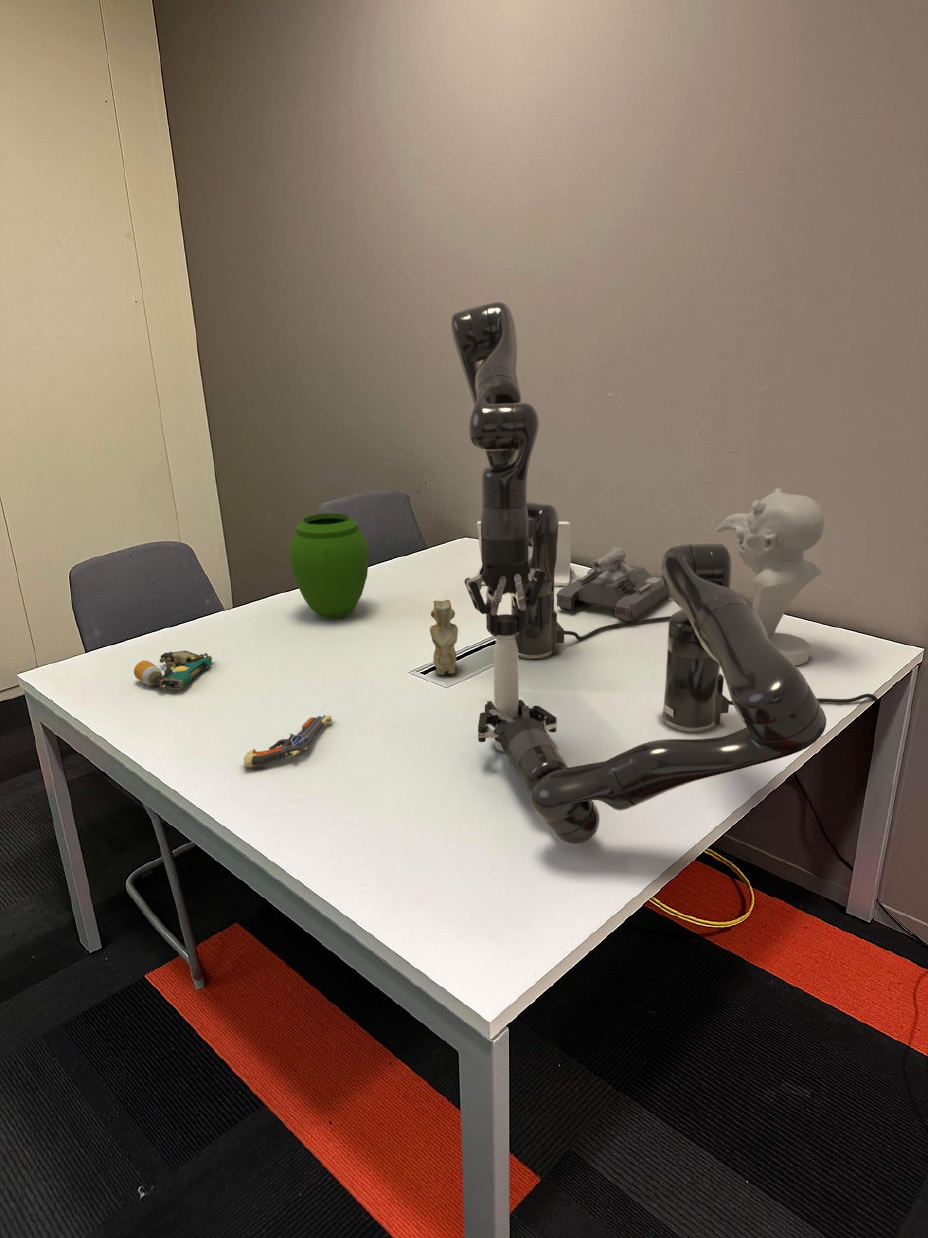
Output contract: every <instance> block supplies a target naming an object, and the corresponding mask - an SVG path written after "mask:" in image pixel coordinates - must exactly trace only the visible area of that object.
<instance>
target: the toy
mask: <svg viewBox="0 0 928 1238" xmlns="http://www.w3.org/2000/svg"><path fill="white" fill-rule="evenodd" d="M626 557H627V556H626V551H625V549H624V548H622V547H621V546H614V547H612V548H611V549H610V550H609V552H608V553H607V554H605V555H604V556H601V557H599V558H598V559H597V557H596V558H594V559H593V560H592V561H590V562H589V563H590V564H591V565H592V567H591V568H590V569H589V570H587V573H586V575H584V576H582V577H580V578H578V579H577V580H575V581H573V582H570V583H569V585H567V586H563V587H562V588H560V589H559V590H558V591H557V592H556V607H558V608H559V609H560V610H562V611H566V612H572V613H575V612H577V611H579V610H581V609H582V608H585V607H586V606H588V605H592V606H598V607H602V608H603V607H604V608H609V609H613V610H614V618H615V619H617V620H618V621H621V622H632V623H633V621H635V620H640V619H641V618H642V617H644V616H645V615H647V614H648V613H650V612H651V611H652V610H654V609H655V608H657V607H659V606H660V605H661V604H663V603H664V602H666V601H667V600H669V598H670V597H671V596H670V594H669V593H668V591H667V589H666V586H665V584H664V581H663V576H662V575H656V576H655V577H654V576H651V574H650V573H649V572H648V571H647V570H646V568H644V567H641V566H635V565H629V564H628V563H627V562H626V561H625V559H626Z"/></svg>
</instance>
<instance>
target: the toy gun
mask: <svg viewBox="0 0 928 1238" xmlns="http://www.w3.org/2000/svg"><path fill="white" fill-rule="evenodd" d="M332 720H333V717H332V716H331V715H325V714H324V715H322V716H321V715H318V716H315V717H313V716H311V717H309V718H308V719H307V720H306V721H305V722H304V723H303V724H302V725H301V731H299V732H298V733H297V734H294V733H290V735H289V737H288V738H281V739H279V740H278V741H276V742H275V743H274V744H272V745H271V746H270V747H268V749H267V750H261V751H256V749H255V748H253V749H250V750H249V751H248V752H247V753H245V755H244V756H243V762H244V768H249V769H250V768H254V767H257V766H260V765H265V764H269V763H271V762H274V761H278V760H281V759H285V758H288V757H290V756H292V757H294V756H296V755H298V754H300V753H301V752H304V751H305V750H307V749H308V748H309V747H310V746H311V744H312V743H313V742H314V740H315V738H316V736H317V735H318V734H319V733H320V731H322V730H323V728H324V727H326V725H327V724H329V723H332Z"/></svg>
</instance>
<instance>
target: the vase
mask: <svg viewBox="0 0 928 1238" xmlns="http://www.w3.org/2000/svg"><path fill="white" fill-rule="evenodd" d="M358 524H359V523H358V521H356V520H355V519H353V518H352V517H350V516H349V515H347V514H344V513H335V512H334V513H333V512H331V513H320V514H313V515H310V516H307V517H305V518H303V519H302V520H301V521H300V522H299V523H298V524H297V525H296V526H295V532H296V533H295V534H294V536H293V537H292V538H291V540H290V542H289V551H288V559H289V564H290V566H291V567H290V568H291V570H292V575H293V578H294V581H295V584H296V586H297V587H298V589H299V591H300V593H301V596H302V597H303V600H304V601H305V603H306V604H307V605H308V607H309V608H310V609H311V611H312V612H314V613H315V614H316V615H317V616H318V617H320V618H324V619H326V620H327V619H329V620H336V619H341V618H345V617H347V616H349V615H350V614H351V613H352V612H353V611H354V610H355V608H356V607H357V605H358V604H359V601H360V599H361V597H362V595H363V592H364V588H365V586H366V581H367V578H368V570H369V561H370V560H369V559H370V548H369V545H368V541H367V537H366V535H365V534H364V533H363V532H362V531H361V530H360V529H359V527H358Z"/></svg>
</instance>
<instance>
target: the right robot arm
mask: <svg viewBox="0 0 928 1238" xmlns="http://www.w3.org/2000/svg"><path fill="white" fill-rule="evenodd" d="M661 576H662V577H663V581H664V584H665V586H666V589H667V591H668V593H669V594H670V596H669V597H670V598H671V599H672V600H673V601H674V603H676V605H677V606H678V607H679V608H680V610H677V611H676V612H674V613H673V614H672V615H670V616H671V617H670V620H668V629H667V631H668V632H667V647H666V664H665V679H664V680H665V681H664V699H663V709H662V710H663V711H662V721H663V723H664V724H665V725H666V726H668V727H670V728H671V729H674V730H677V731H680V732H685V733H702V732H706V731H710V730H712V729H713V728H714V727H715V726H720V724H721V716H722V714H728V713H729V709H730V706H733V707H734V709H735V711H736V713H737V714H738V716H739V717H740V719H741V721H742V722H743V724H744V726H745V727H743V728H741V729H739V730H737V731H735V732H733V733H729V734H726V735H723V736H718V737H711V738H694V739H692V738H691V739H689V738H688V739H687V738H685V739H684V738H674V739H673V738H667V739H658V740H657V739H656V740H652V741H647V742H645V743H644V742H643V743H641V744H638V745H636V746H634V747H632V748H630V749H628V750H626V751H623V752H621V753H619V754H617V755H614V756H613V757H611V758H609V759H607V760H603V761H600V762H592V763H587V764H581V765H575V766H568V764H567V762H566V761H565V759H564V758H563V757H562V755H561V753H560V751H559V749H558V746H557V744H556V742H555V741H554V740H553V738H552V737H551V736H550V734H549V733H557V728H558V727H557V726H558V722H557V721H558V719H557V718H558V717H557V716H555V715H553V714H552V713H551V712H549V711H547V710H546V709H545V708H543V707H542V706H540V705H533V706H532V707H530V706H529V705H526V703H525V702H524V700H523V699H519V716H517V717H508V716H507V715H505V714H504V713H503V712H502V713H499V712H498V711H496V708H495V704H494V703H493V701H492V700H488V701H486V703H485V704H484V712H483V711H482V712H480V713H479V717H478V724H477V740H478V742H479V743H485V742H486V741H487V739H493V740H494V741H495V740H496V741H497V742H499V743H500V744H501V746H502V749H503V751H504V752H503V751H502V752H503V753H504V754H505V756H506V758H507V760H508V762H509V763H510V765H511V767H512V770H513V771H514V773H516V775H517V776H518V777H519V778H520V780H521V782H522V783H523V785H524V787H525V789H526V790H527V792H528V793H529V794H530V803H531V806H532V808H533V810H534V811H535V812H536V814H537V815H538V816H539V817H540V819H541V820H542V821H543V823H545V825H546V826H547V827H548V828H549V829H550V830H551V831H552V833H553V835H554V836H556V838H557V839H558V840H560V841H562V842H563V843H566V844H569V845H582V844H584V843H587V842H588V841H590V840H591V839H592V838H593V837H594V836H595V835H596V833H597V831H598V829H599V827H600V821H601V820H600V811H599V809H598V806H597V805H596V804H595V802H594V801H600V802H602V803H604V804H606V805H607V806H609V807H610V808H612V809H613V810H615V811H620V812H622V811H626V810H629V809H631V808H634V807H636V806H638V805H640V804H642V803H645V802H647V801H649V800H651V799H653V798H656V797H658V796H660V795H663V794H665V793H667V792H669V791H672V790H675V789H677V788H679V787H682V786H685V785H688V784H691V783H693V782H698V781H700V780H704V779H708V778H711V777H715V776H719V775H723V774H727V773H731V772H735V771H739V770H742V769H747V768H750V767H753V766H756V765H760V764H765V763H768V762H772V761H776V760H780V759H782V758H786V757H788V756H792V755H794V754H797V753H799V752H802V751H804V750H806V749H807V748H809V747H810V746H812V745H814V744H815V743H816V742H817V741H818V740H820V738H821V737H822V735H823V734H824V732H825V730H826V728H827V727H826V726H827V717H826V713H825V711H824V709H823V707H822V706H821V704H820V703H829V704H849V703H854V702H857V701H861V700H863V699H867V698H868V699H871V700H873V701H879V699H878V698H877V696H875V695H874V694H872V693H863V694H859V695H858V696H854V697H852V698H825V697H824V698H819V697H816V695H815V693H814V691H813V690H812V688H811V686H810V684H809V683H808V682H807V680H806V678H805V676H804V675H803V673H802V672H801V671H800V670H799V668H798V667H797V665H796V666H795V665H794V664H793V663H792V662H791V661H790V660H788V659H787V658H786V657H785V656H784V655H783V654H782V653H781V652H780V651H779V650H778V649H777V648H776V647H775V646H774V645H773V644H772V643H771V642H770V640H769V639H768V637H767V630H766V628H765V625H764V623H763V621H762V619H761V618H760V616H759V615H758V613H757V612H756V611H755V609H754V608H753V606H752V603H751V602H750V601H749V599H748V598H746V597H744V595H742V594H740V593H739V592H738V591H735V590H733V589H731V588H730V586H731V578H732V557H731V553H730V551H729V549H728V548H727V546H726V545H724V544H722V543H690V544H689V543H688V544H687V543H686V544H685V543H684V544H683V543H682V544H678V545H674V546H671V547H670V548H668V549H667V550H666V552H665V553H664V555H663V558H662V562H661ZM720 671H721V672H722V673H720ZM724 683H725V684H726V686H727V690H728V693H729V697H730V699H731V700H729V698H727V696H726V695H724V694H723V693H724ZM489 725H490V726H489ZM491 727H493V728H494V729H492V728H491ZM548 732H549V733H548Z"/></svg>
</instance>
